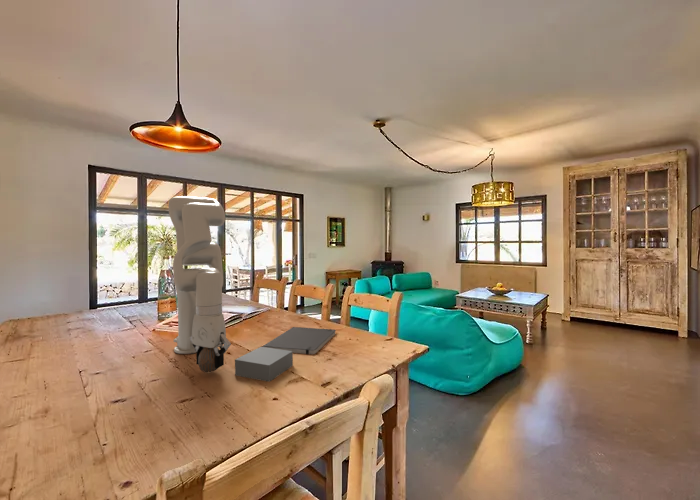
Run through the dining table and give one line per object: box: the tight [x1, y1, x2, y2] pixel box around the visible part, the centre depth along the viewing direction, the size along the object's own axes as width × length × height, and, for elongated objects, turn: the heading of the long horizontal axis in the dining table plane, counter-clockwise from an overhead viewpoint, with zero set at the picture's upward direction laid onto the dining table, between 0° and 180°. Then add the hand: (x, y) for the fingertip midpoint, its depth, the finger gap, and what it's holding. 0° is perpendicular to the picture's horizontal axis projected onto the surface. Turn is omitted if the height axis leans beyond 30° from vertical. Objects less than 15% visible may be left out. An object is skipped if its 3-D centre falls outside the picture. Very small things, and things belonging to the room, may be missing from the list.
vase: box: [197, 347, 220, 374], centre depth 100 cm, size 7×7×9 cm
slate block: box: [234, 346, 294, 383], centre depth 103 cm, size 13×13×5 cm
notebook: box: [262, 326, 337, 355], centre depth 133 cm, size 22×2×28 cm
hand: (210, 364), depth 100 cm, fingers closed on vase, 6 cm apart
